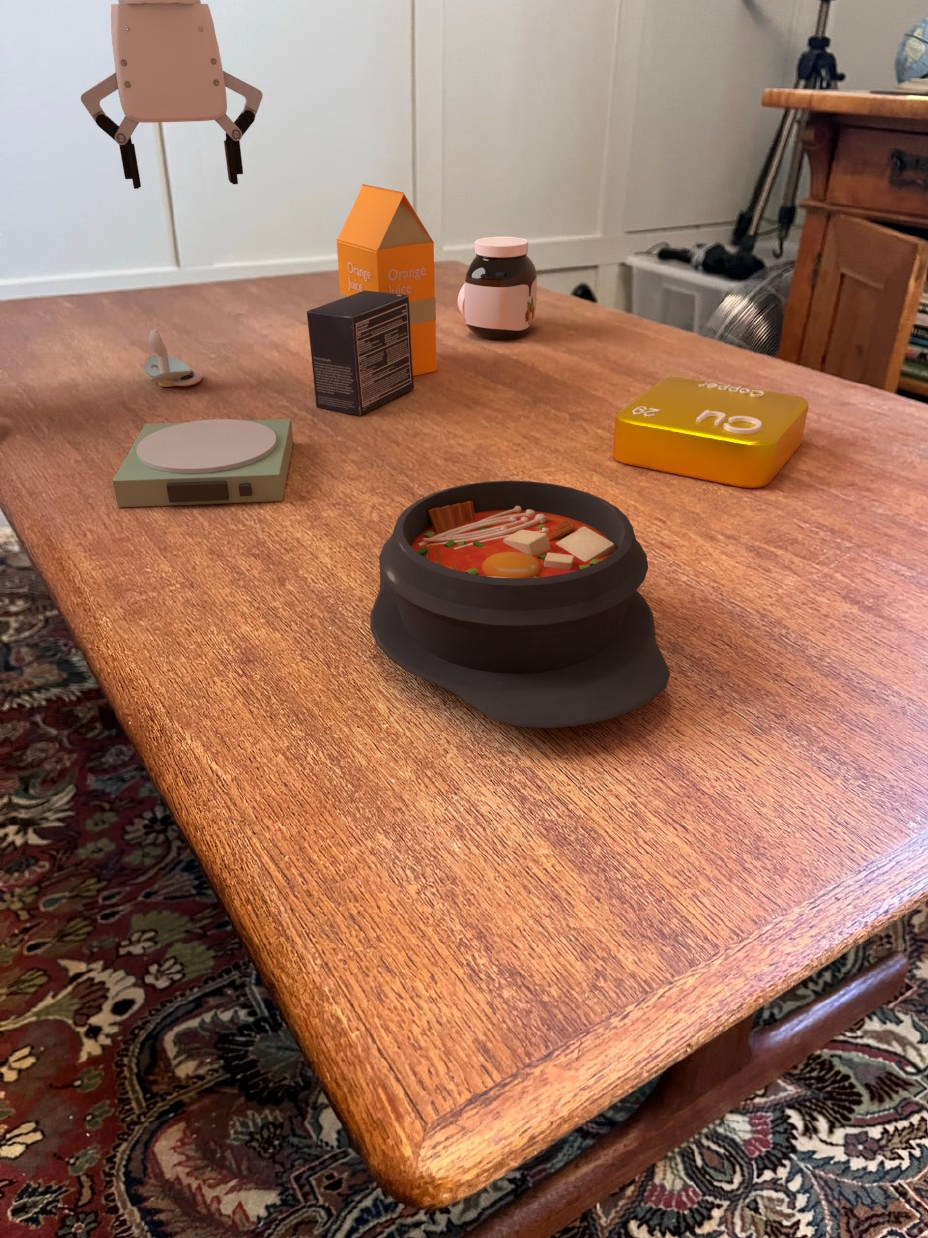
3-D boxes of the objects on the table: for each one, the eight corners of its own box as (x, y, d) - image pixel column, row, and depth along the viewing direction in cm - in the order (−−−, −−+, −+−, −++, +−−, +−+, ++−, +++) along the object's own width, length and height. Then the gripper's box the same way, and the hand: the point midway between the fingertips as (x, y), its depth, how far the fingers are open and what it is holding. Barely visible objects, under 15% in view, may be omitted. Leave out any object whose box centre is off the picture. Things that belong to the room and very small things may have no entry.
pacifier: (194, 371, 118) (143, 376, 115) (188, 318, 114) (135, 322, 112) (208, 388, 112) (154, 394, 110) (202, 333, 109) (147, 338, 107)
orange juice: (382, 382, 113) (372, 195, 102) (344, 365, 119) (331, 186, 109) (438, 370, 117) (434, 188, 106) (398, 353, 123) (390, 180, 113)
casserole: (325, 582, 72) (315, 476, 68) (550, 538, 78) (554, 438, 74) (452, 790, 52) (449, 659, 48) (740, 708, 59) (761, 586, 54)
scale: (116, 510, 83) (109, 477, 82) (149, 448, 96) (144, 418, 94) (282, 503, 84) (278, 471, 83) (293, 442, 97) (290, 413, 95)
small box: (369, 380, 114) (363, 287, 108) (416, 389, 111) (412, 294, 105) (312, 407, 106) (303, 308, 100) (361, 417, 103) (354, 315, 98)
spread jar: (507, 345, 125) (508, 250, 119) (433, 334, 131) (430, 242, 125) (550, 324, 134) (553, 234, 128) (479, 314, 139) (479, 227, 133)
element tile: (806, 439, 96) (815, 392, 94) (763, 493, 85) (772, 441, 83) (662, 414, 103) (666, 369, 101) (604, 461, 92) (608, 411, 90)
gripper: (247, -13, 97) (266, 176, 106) (62, -13, 93) (98, 183, 102) (255, -15, 91) (275, 185, 100) (57, -16, 87) (96, 193, 95)
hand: (185, 184), depth 101 cm, fingers open, 9 cm apart
